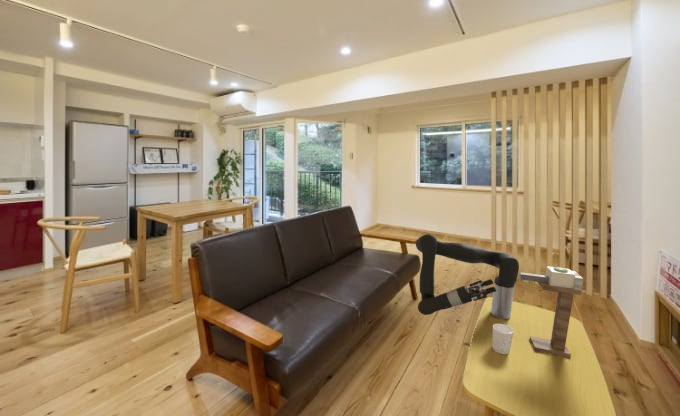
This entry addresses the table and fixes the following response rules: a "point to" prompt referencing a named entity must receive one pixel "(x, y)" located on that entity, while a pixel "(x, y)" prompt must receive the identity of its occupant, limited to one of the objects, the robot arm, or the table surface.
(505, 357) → the table surface
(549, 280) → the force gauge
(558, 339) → the wooden pedestal stand
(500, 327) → the white cup
